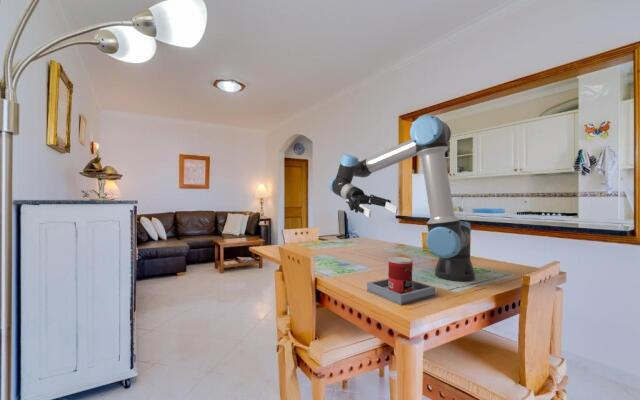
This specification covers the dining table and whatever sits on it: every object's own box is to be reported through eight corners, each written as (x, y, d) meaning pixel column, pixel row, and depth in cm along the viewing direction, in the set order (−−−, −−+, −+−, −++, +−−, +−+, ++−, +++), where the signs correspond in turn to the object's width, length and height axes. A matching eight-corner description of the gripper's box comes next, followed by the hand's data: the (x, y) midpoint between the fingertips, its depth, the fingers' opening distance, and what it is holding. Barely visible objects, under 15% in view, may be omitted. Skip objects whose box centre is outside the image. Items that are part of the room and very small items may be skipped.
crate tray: (399, 284, 116) (399, 276, 116) (435, 296, 102) (435, 287, 102) (367, 291, 107) (367, 282, 107) (401, 305, 94) (401, 295, 94)
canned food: (408, 296, 100) (408, 262, 99) (385, 292, 104) (385, 259, 104) (414, 290, 106) (415, 258, 106) (392, 286, 110) (392, 256, 110)
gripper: (373, 200, 143) (405, 217, 126) (327, 204, 131) (356, 224, 114) (376, 184, 141) (409, 200, 123) (329, 188, 129) (359, 206, 111)
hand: (383, 212), depth 119 cm, fingers open, 13 cm apart
